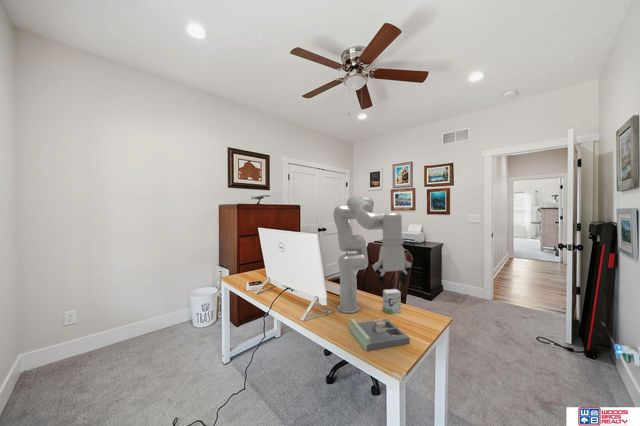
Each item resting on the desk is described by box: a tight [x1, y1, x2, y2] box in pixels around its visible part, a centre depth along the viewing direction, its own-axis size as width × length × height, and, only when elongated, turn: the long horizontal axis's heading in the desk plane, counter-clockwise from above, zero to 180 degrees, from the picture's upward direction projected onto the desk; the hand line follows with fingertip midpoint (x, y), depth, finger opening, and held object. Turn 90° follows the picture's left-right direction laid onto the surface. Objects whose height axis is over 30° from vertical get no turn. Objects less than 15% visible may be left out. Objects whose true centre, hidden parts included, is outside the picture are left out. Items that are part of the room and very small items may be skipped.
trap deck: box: [348, 318, 411, 352], centre depth 107 cm, size 18×21×5 cm
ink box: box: [382, 288, 402, 315], centre depth 132 cm, size 9×5×12 cm, turn 101°
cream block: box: [372, 318, 386, 333], centre depth 107 cm, size 4×4×4 cm
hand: (392, 284), depth 97 cm, fingers open, 9 cm apart
